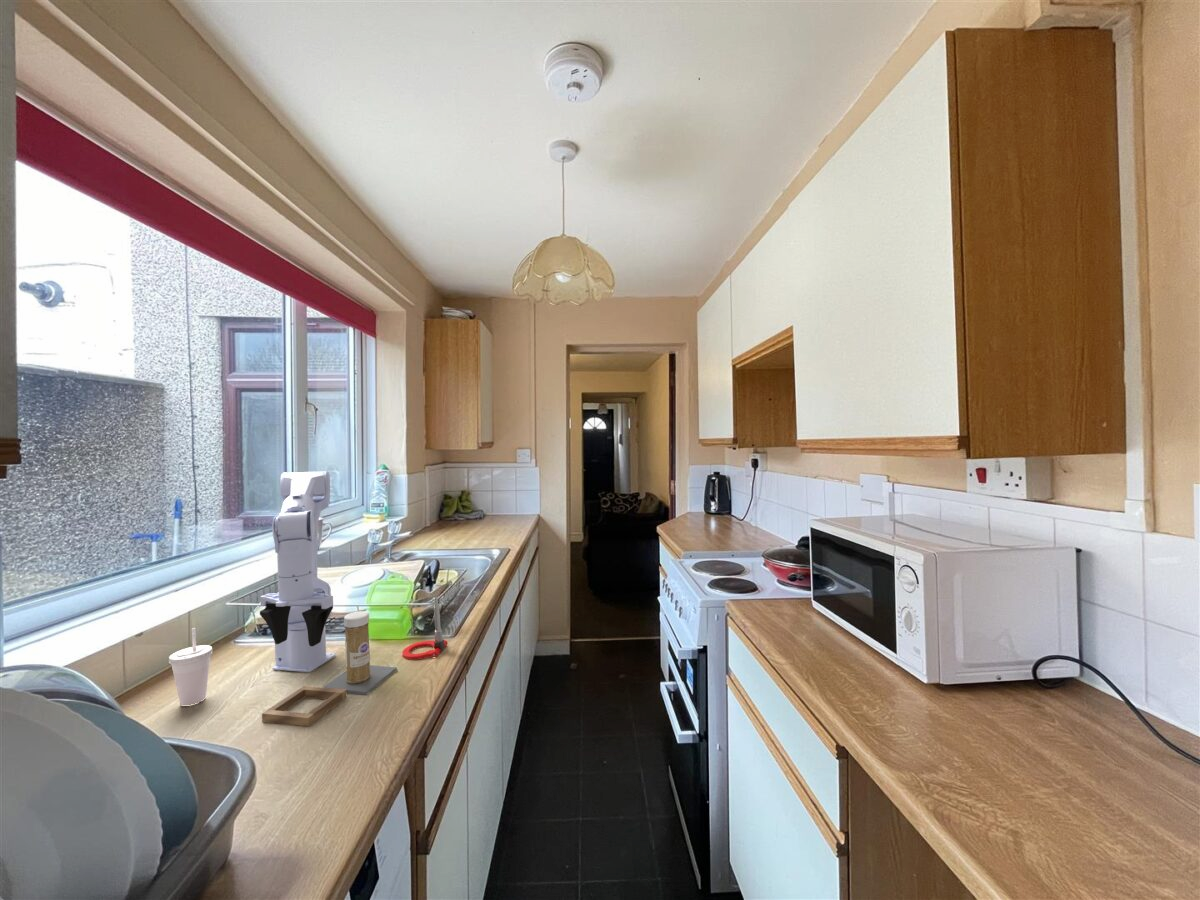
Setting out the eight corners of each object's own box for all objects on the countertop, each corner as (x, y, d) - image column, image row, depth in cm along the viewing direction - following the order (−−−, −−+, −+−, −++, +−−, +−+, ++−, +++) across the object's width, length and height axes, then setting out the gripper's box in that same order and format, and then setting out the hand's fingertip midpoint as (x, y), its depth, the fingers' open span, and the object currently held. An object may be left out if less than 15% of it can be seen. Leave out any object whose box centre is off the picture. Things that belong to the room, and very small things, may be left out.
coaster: (321, 691, 94) (321, 688, 94) (355, 666, 104) (355, 664, 104) (366, 694, 92) (366, 691, 92) (396, 669, 102) (396, 667, 102)
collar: (262, 721, 84) (261, 713, 84) (304, 693, 93) (303, 685, 93) (308, 726, 82) (308, 718, 82) (346, 697, 91) (346, 689, 91)
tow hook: (395, 662, 107) (435, 660, 106) (391, 605, 106) (431, 603, 106) (412, 646, 115) (449, 644, 115) (408, 593, 115) (445, 591, 114)
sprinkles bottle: (360, 685, 94) (357, 619, 94) (340, 683, 96) (338, 617, 95) (375, 674, 99) (373, 610, 99) (357, 672, 100) (355, 609, 100)
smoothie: (221, 696, 92) (218, 626, 92) (181, 714, 87) (178, 638, 86) (203, 690, 95) (200, 621, 95) (163, 706, 89) (160, 633, 89)
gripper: (245, 578, 89) (247, 649, 89) (312, 580, 87) (314, 654, 87) (276, 568, 96) (279, 634, 96) (340, 570, 94) (342, 638, 94)
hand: (298, 643), depth 92 cm, fingers open, 7 cm apart
